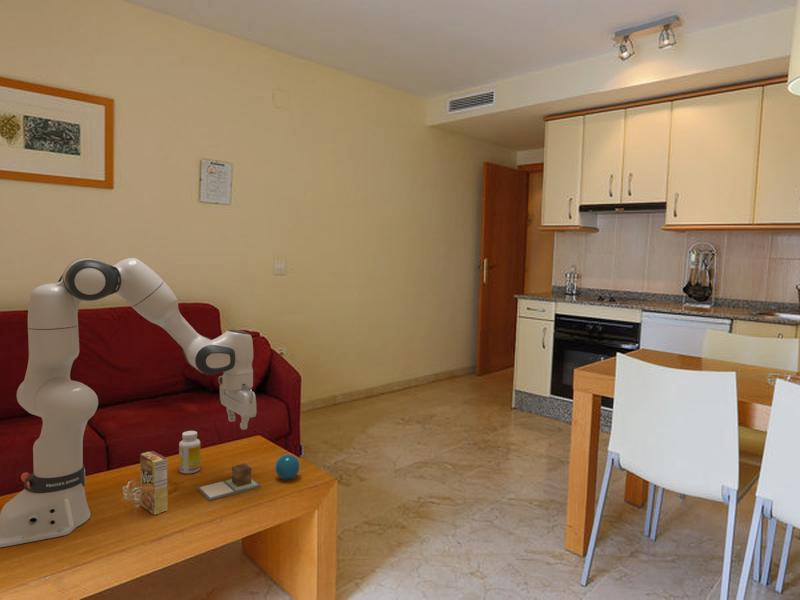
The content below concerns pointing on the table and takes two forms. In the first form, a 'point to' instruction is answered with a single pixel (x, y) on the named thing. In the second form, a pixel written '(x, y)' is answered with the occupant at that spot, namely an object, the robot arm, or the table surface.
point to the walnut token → (241, 475)
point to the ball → (287, 466)
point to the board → (225, 489)
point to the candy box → (154, 482)
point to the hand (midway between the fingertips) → (237, 424)
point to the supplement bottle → (189, 453)
